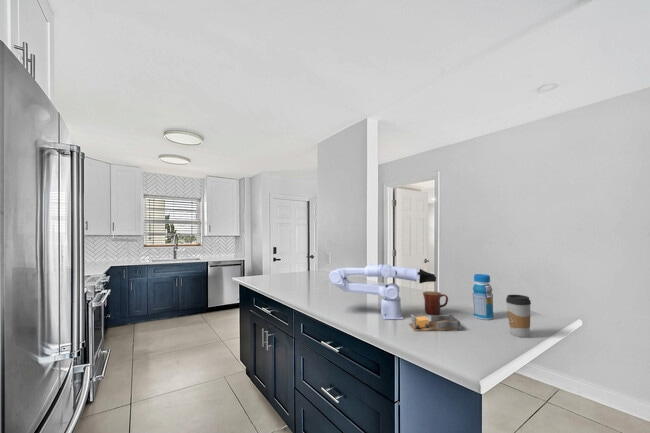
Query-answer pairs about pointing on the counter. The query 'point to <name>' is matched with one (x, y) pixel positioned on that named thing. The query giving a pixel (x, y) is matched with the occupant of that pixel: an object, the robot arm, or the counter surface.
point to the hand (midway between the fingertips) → (435, 278)
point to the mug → (433, 302)
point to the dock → (440, 324)
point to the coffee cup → (519, 315)
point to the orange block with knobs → (419, 321)
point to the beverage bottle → (483, 297)
